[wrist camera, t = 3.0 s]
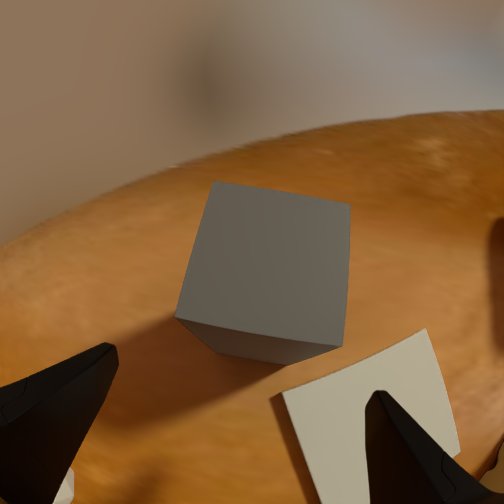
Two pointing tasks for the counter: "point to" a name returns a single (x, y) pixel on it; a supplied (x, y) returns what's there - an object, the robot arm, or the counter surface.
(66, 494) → the ball
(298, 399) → the tile
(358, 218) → the counter surface
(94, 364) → the robot arm
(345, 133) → the counter surface
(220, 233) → the block
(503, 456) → the cheese
